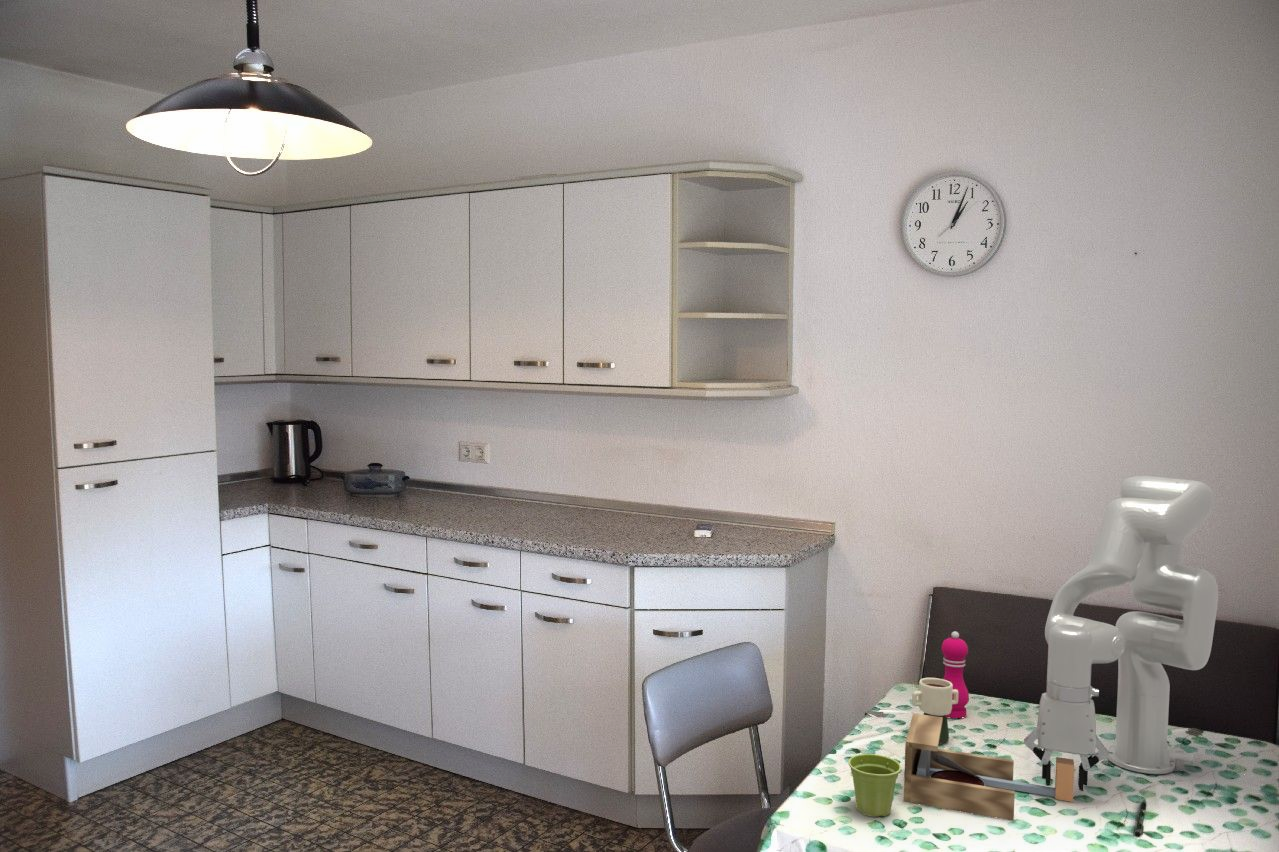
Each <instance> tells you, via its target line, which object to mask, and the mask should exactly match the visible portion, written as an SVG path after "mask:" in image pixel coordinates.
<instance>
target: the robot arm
mask: <svg viewBox="0 0 1279 852" xmlns="http://www.w3.org/2000/svg"><path fill="white" fill-rule="evenodd" d="M1119 494H1120V497H1119V498H1116V499H1113V500H1112V501H1110V502H1109V503H1108V505H1107V506H1106V508H1105V511H1104V514H1103V518H1102V520H1101V524H1100V527H1099V530H1098V534H1097V537H1096V541H1095V544H1094V546H1093V551H1092V553H1091V557H1090V560H1089V563H1088V564H1087V565H1086V567H1084V568H1083V569H1081V570H1080V571H1078V572H1077V573H1075V574H1074V575H1072V576H1071V577H1070V578H1069V579H1068V580H1067V581H1065V583H1064V584H1063V585H1062V586H1061V587H1060V588H1059V589H1058V591H1057V592H1056V593H1055V595H1054V597H1053V599H1052V602H1051V605H1050V609H1049V612H1048V615H1047V619H1046V623H1045V628H1044V637H1045V641H1046V643H1047V645H1048V647H1047V648H1048V649H1047V669H1046V670H1047V671H1046V672H1047V673H1046V692H1044V693H1041V696H1040V700H1039V705H1038V714H1037V723H1036V727H1035V728H1034V729H1033V730H1032V731H1031V732H1030V733H1029V734H1028V735H1027V736H1026V737H1024V739H1023V744H1024V745H1025V746H1026V747H1027V748H1028V749H1029V750H1030V751H1032V753H1033V754H1034V755H1035V756H1036V757H1037V758H1038V760H1040V761H1041V764H1042V766H1041V767H1042V768H1041V779H1042V780H1045V786H1048V787H1050V786H1051V778H1052V777H1051V772H1052V764H1051V760H1050V759H1051V756H1052V754H1053V752H1059V753H1066V754H1067V753H1068V754H1074V755H1079V758H1080V761H1081V762H1080V763H1079V765H1078V774H1077V775H1078V777H1077V783H1078V784H1077V786H1078V791H1080V792H1084V789H1085V788H1084V786H1088V782H1089V781H1088V778H1089V777H1088V776H1089V771H1090V770H1091V769H1092V768H1093V767H1094V766H1095V765H1098V763H1099V762H1101V761H1103V760H1104V759H1107V760H1108V761H1109V762H1111V763H1112V764H1114V765H1116V766H1118V767H1120V768H1123V769H1126V770H1129V771H1132V772H1136V773H1143V774H1146V775H1147V774H1149V775H1166V774H1169V773H1172V772H1173V771H1174V770H1175V767H1176V766H1175V765H1176V763H1175V762H1176V761H1177V762H1182V763H1187V764H1193V762H1194V755H1193V753H1190V752H1189V753H1188V752H1185V750H1184V749H1180V748H1172V747H1171V746H1170V745H1169V742H1168V731H1169V730H1168V728H1169V727H1168V726H1169V710H1170V709H1169V707H1170V691H1171V689H1170V688H1171V687H1170V686H1171V685H1170V680H1169V676H1168V674H1167V672H1166V670H1165V668H1164V666H1163V665H1167V666H1170V667H1171V666H1172V667H1175V668H1180V669H1183V670H1189V671H1199V670H1201V669H1203V668H1204V667H1205V666H1206V665H1207V663H1208V661H1209V658H1210V656H1211V652H1212V646H1213V641H1214V640H1213V638H1214V633H1215V625H1216V617H1217V611H1218V610H1217V609H1218V604H1219V603H1218V602H1219V585H1218V583H1217V580H1216V577H1215V576H1214V575H1213V574H1212V573H1211V572H1210V571H1207V570H1206V569H1202V568H1198V567H1195V566H1194V567H1193V566H1188V565H1182V553H1183V546H1184V540H1186V539H1187V538H1188V537H1189V536H1190V535H1191V534H1193V532H1195V530H1196V529H1198V528H1199V527H1200V526H1201V525H1202V524H1203V523H1204V522H1205V521H1206V520H1207V519H1208V518H1209V517H1210V515H1211V513H1212V511H1213V507H1214V504H1215V503H1214V502H1215V498H1214V493H1213V490H1212V489H1211V487H1210V486H1209V485H1207V484H1206V483H1205V482H1203V481H1199V480H1193V479H1185V478H1184V479H1183V478H1171V477H1165V476H1164V477H1162V476H1152V475H1135V476H1131V477H1127V478H1125V479H1124V480H1123V481H1122V483H1121V485H1120V493H1119ZM1128 584H1130V595H1131V597H1132V598H1133V600H1134V601H1136V603H1138V604H1140V605H1144V606H1147V607H1152V608H1156V609H1160V610H1167V611H1171V612H1175V613H1181V614H1182V617H1183V619H1179V618H1174V617H1169V616H1165V615H1162V614H1161V615H1160V614H1155V613H1151V612H1147V611H1146V612H1145V611H1128V612H1126V613H1123V614H1121V616H1119V618H1118V619H1117V620H1116V623H1115V626H1114V625H1113V624H1110V623H1106V622H1101V621H1097V620H1093V619H1091V618H1090V619H1089V618H1085V617H1080V616H1075V615H1074V613H1075V611H1076V609H1077V608H1078V605H1079V604H1080V603H1081V602H1082V601H1083V600H1084V599H1086V598H1088V596H1090V595H1092V594H1094V593H1097V592H1100V591H1104V590H1107V589H1111V588H1115V587H1116V588H1117V587H1120V586H1124V585H1128ZM1117 660H1118V661H1117ZM1116 661H1117V662H1118V664H1117V665H1118V673H1117V675H1118V676H1117V677H1118V678H1117V696H1116V697H1117V699H1116V719H1115V720H1116V722H1115V724H1116V725H1115V745H1114V746H1111V747H1109V748H1106V746H1105V745H1104V744H1103V742H1102V741H1101V740H1100V739H1099V737H1098V736H1097V719H1096V708H1095V707H1096V706H1095V702H1094V700H1093V699H1092V698H1093V697H1099V696H1100V695H1099V693H1100V690H1099V688H1095V687H1093V686H1092V684H1091V683H1092V678H1091V677H1092V665H1093V664H1110V663H1113V662H1116ZM1036 741H1037V744H1038V745H1037V744H1036V743H1035V742H1036ZM1042 749H1043V750H1042ZM1096 749H1097V752H1096Z"/></svg>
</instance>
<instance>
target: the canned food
mask: <svg viewBox="0 0 1279 852" xmlns="http://www.w3.org/2000/svg"><path fill="white" fill-rule="evenodd" d="M931 756H932V760H933V761H935V762H936V763H938V764H941V765H943V766H946V767H949V768H951V769H954V770H941V771H937V772H934V773H933V774H932V775H931V776H930V777H931V778H937V779H944V780H950V781H956V782H962V783H968V784H974V785H981V786H986V785H985V783H984V782H983V780H981V779H982V778H981V777H979V776H977V775H975V774H973V773H972V772H970V771H968V770H966V769H965V768H963V767H962V766H960V765H958V764H956V763H955V762H953V761H952V760H950V759H949V758H947V757H945V756H942V755H937V754H935V753H934V754H933V755H931ZM956 770H957V771H956ZM980 778H981V779H980Z"/></svg>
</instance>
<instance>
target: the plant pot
mask: <svg viewBox="0 0 1279 852" xmlns="http://www.w3.org/2000/svg"><path fill="white" fill-rule="evenodd" d="M847 762H848V766H849V767H850V772H851V774H852V781H853V787H854V789H853V790H854V796H855V797H854V799H855V804H856V805H855V806H856V809H857V810H858V811H859V813H860V814H862V815H864V814H865V816H869V817H872V818H877V817H880V816H883V817H886V816H888V815H890V814H891V812H892V805H893V799H894V793H895V789H896V783H897V779H898V778H899V774H900V772H901V771H902V765H901V763H900V762H899V761H897V760H896V759H894V758H891V757H888V756H886V755H880V754H875V753H872V754H871V753H863V754H862V753H861V754H857V755H854V756H851V757H850V758H849V759H848V761H847Z"/></svg>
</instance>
